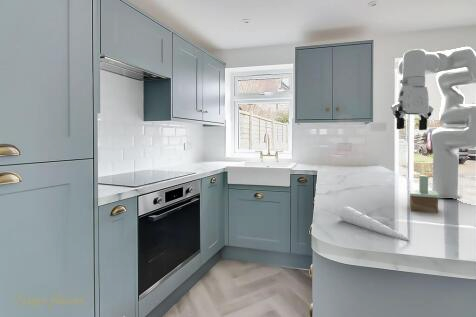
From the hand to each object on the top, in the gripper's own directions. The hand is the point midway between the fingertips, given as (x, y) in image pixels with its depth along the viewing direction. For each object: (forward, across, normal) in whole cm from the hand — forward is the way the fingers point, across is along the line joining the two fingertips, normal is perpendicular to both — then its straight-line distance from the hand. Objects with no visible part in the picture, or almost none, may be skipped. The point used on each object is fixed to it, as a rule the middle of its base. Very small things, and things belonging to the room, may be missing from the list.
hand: (411, 129), depth 116 cm
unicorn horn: (+32, -31, -23) cm, 50 cm away
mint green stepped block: (+25, +1, -6) cm, 26 cm away
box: (+30, +1, -6) cm, 30 cm away
